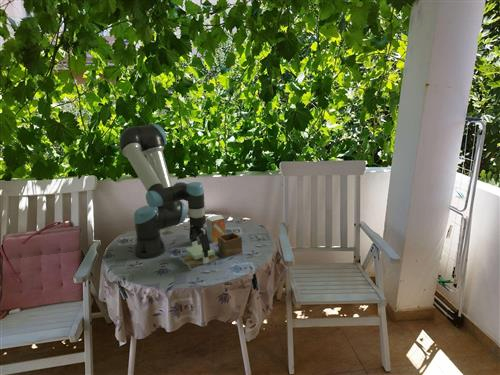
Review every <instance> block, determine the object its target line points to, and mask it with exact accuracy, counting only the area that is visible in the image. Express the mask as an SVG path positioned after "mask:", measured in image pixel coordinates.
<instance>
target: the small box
mask: <svg viewBox="0 0 500 375" xmlns="http://www.w3.org/2000/svg"><path fill="white" fill-rule="evenodd" d="M206 230H207V236H208V241H209V242H211V243H212V244H213V243H218V236H222V235H225V234H227V233H226V219H225V217H224V216H223V215H220V214H218V215H217V214H216V215H213V216H210V217H206Z"/></svg>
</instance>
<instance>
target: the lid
mask: <svg viewBox="0 0 500 375" xmlns="http://www.w3.org/2000/svg"><path fill="white" fill-rule="evenodd" d="M202 250H203V249H202V246H201V243H200V244H198V245H197V246H193V247H192V246H190V247H186V248H185V252H186V253H187V254H188V256H190V255H191V256H192V257H193V258H194V259H195V260H196V259H200V258H203V256H202ZM213 254H215V255H216V253H215V250H214V249H212V248H211V247H210V250H209V251H208V256H210V255H213Z"/></svg>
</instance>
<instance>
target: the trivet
mask: <svg viewBox="0 0 500 375" xmlns="http://www.w3.org/2000/svg"><path fill="white" fill-rule="evenodd" d="M208 257H209V262H212V261H215V260H219V256H217V254H216V253H215V254H213V255H210V256H208ZM182 260H183V261H184V263H186V264H187V265H188V266H189V267H190V268H191V269H194V267H196V266H200V265H202V264H203V258H200V259H196V260H195V259H194V258H193V257H192V256H191V255H186V256H183V257H182ZM203 265H204V264H203Z"/></svg>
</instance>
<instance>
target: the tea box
mask: <svg viewBox="0 0 500 375" xmlns="http://www.w3.org/2000/svg"><path fill="white" fill-rule="evenodd" d="M242 238H243V237H241V236H240V235H238V234H237V233H236V232H230V233H226V234H225V235H222V236H218V242H217V245H218V246H217V247H218V253H219V254H220V255H222V256H223V257H225V258H230V257H234V256H237V255H241V254H242V253H243V239H242Z"/></svg>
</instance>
